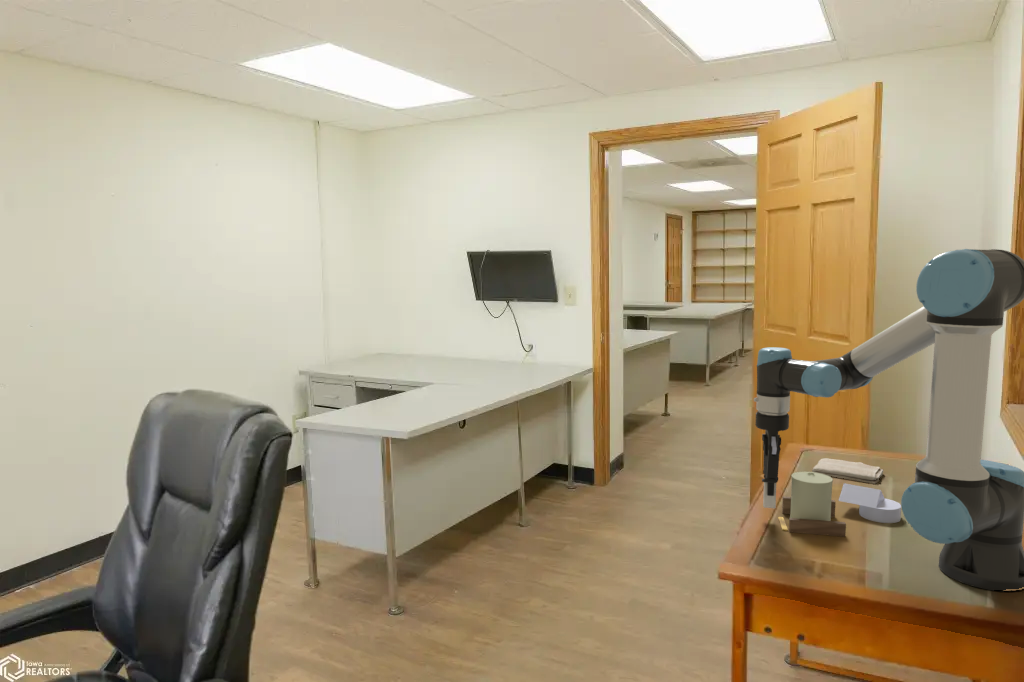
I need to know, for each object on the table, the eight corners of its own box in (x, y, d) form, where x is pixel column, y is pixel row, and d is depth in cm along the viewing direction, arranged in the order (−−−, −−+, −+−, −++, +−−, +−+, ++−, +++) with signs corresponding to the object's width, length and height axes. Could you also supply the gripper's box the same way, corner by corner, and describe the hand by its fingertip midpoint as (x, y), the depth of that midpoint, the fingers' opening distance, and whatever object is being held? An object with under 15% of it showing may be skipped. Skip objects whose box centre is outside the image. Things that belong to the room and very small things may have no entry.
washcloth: (878, 486, 193) (879, 475, 192) (810, 475, 203) (810, 465, 203) (884, 475, 202) (884, 465, 202) (819, 465, 213) (819, 455, 212)
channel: (845, 536, 157) (846, 519, 156) (782, 531, 160) (783, 514, 160) (833, 515, 169) (834, 500, 169) (775, 511, 173) (776, 495, 172)
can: (827, 518, 168) (829, 471, 166) (834, 532, 159) (836, 482, 158) (787, 515, 170) (789, 468, 169) (791, 528, 162) (793, 479, 160)
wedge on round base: (837, 513, 171) (896, 526, 163) (838, 487, 170) (897, 498, 162) (847, 503, 178) (903, 515, 170) (848, 478, 177) (905, 488, 169)
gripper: (753, 405, 171) (750, 496, 174) (758, 417, 159) (755, 515, 161) (785, 407, 169) (782, 499, 172) (793, 418, 157) (789, 517, 159)
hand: (769, 506), depth 167 cm, fingers closed
